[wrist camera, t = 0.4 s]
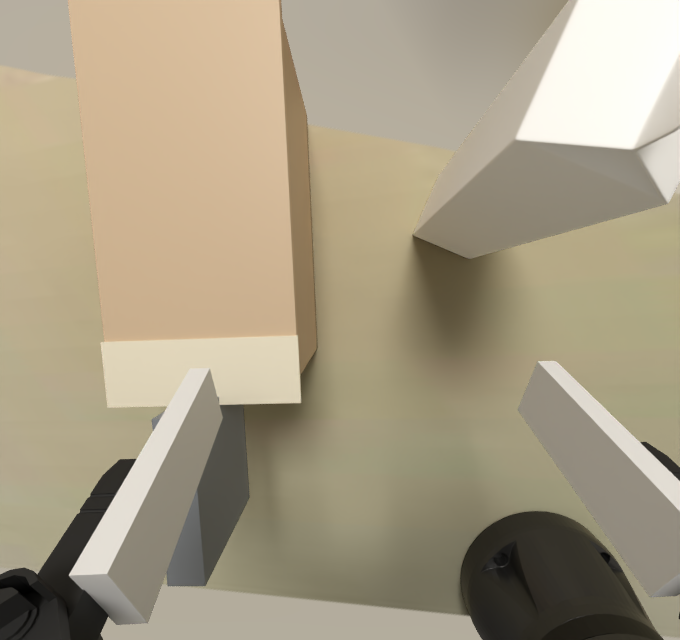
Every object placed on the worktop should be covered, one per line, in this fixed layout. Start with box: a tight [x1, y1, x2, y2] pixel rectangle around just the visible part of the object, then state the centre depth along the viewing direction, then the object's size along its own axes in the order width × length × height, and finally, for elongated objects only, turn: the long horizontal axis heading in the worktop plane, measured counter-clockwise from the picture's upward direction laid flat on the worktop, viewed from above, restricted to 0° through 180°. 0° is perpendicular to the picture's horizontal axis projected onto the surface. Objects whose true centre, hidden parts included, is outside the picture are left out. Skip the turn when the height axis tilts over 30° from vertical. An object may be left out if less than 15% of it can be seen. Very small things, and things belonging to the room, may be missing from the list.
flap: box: [68, 0, 301, 586], centre depth 18 cm, size 32×12×7 cm, turn 2°
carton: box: [282, 20, 317, 375], centre depth 24 cm, size 22×11×12 cm, turn 2°
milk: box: [413, 0, 680, 259], centre depth 18 cm, size 6×6×22 cm
